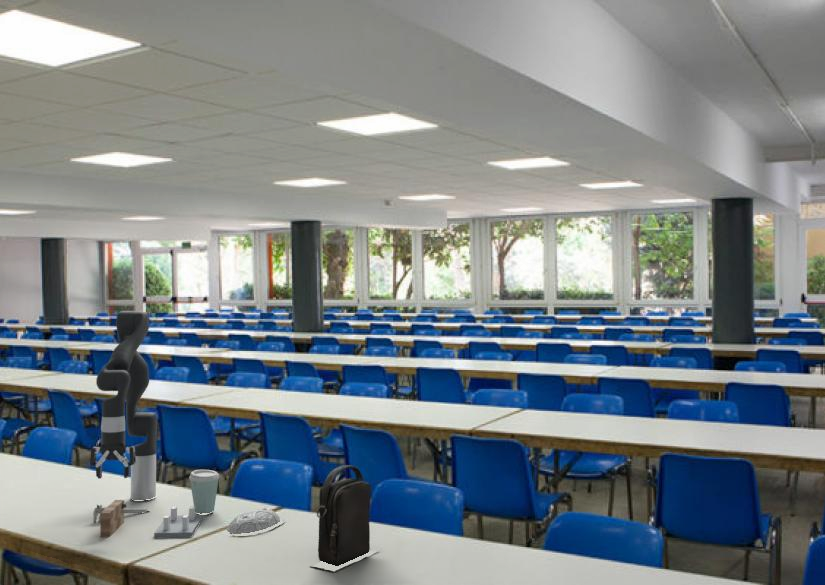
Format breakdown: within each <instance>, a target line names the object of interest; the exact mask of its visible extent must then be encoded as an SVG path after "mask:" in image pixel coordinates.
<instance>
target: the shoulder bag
mask: <svg viewBox="0 0 825 585" xmlns="http://www.w3.org/2000/svg"><path fill="white" fill-rule="evenodd" d="M346 469H350V470H352V471H353V473H354V474H355V478H350V477H349V478H346V479H342V480H338V481H335V482H333V481H334V480H335V478H336V477H337V475H339V473H340V472H342V471H343V470H346ZM322 485H323V486H321V487H320V489H319V494H318V496H319V498H318V500H319V504H318V506H319V508H318V509H317V511H316V517H317V518H318V545H317V546H318V547H317V556H318V560H319V562H320V561H323V562H326V563H328V564H332V565H335V566H339V565H341V564H344V563H346V562H348V561H350V560H353V559H355V558H357V557H359V556H362V555H364V554H366V553H368V552H369V550H371V546H370V544H371V543H370V542H371V541H370V540H371V539H370V537H371V536H370V533H371V531H370V511H371V508H370V507H371V490H372V486H371V484H370V483H369V482H366V481H364V479H363V474H362V473H361V470H360V469H359V468H358V467H357V466H353V465H351V464H349V465H348V464H342V465H340V466H337V467H336V468H334V469H332V470H331V471H330V472H329V473H328V475H327V476H326V477H325V480H324V483H323V484H322Z"/></svg>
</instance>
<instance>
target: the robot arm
mask: <svg viewBox="0 0 825 585" xmlns="http://www.w3.org/2000/svg"><path fill="white" fill-rule="evenodd" d="M115 322H116V323H115V325H116V331H117V338H118V345H117V346H115V348H114V349H113V351H112V354H111V356H110V358H109V361H107V363H106V364H105V365H104V366H103V367H102V368H101V370H100V371H99V372H98V374H97V376H96V381H95V383H96V387H97V388H98V390H100V391H102V392H117V393H116V395H115V396H113V397H108V398H105V399H104V400H102V402H101V403H102V405H101V406H102V407H101V408H102V409H101V410H102V412H101V413H102V414H101V415H102V416H101V424H100V431H101V432H100V439H101V440H100V441H101V442H100V445H101V446H100V447H98V446H93V447H91V449H90V459H89V464H90V466H92V467H95V476H96V478H97V479H98V480H99V479H102V478H103V463H104V462H105V461H106V460H107V461H112V460H113V461H118V460H119V462H120V463H122V464H123V466H124V468H123V478H124V479H127V478H128V477H129V476H130V500H131V499H133V500H146V499H151V498H153V497H155V496H156V497H157V436H158V416H157V413H155V412H151V411H149V412H148V411H147V412H146V411H145V412H138V411H137V408H138V407H137V405H138V403H139V402H140V400H141V398H142V396H143V395H144V393H145V391H146V390H147V388H148V386H149V384H150V375H149V374H150V373H149V365H148V363H147V362H146V360H145V359H144V357H143V356H142V355H141V354H140V353H139V352H138V348H140V346H141V344H142V342H143V341H144V339H145V338H146V335H147V334H148V331H149V329H150V316H149V314H148V312H147V311H143V310H121V311H119V312H118V313H117V315H116V318H115ZM125 407H126V408H125ZM125 410H126V412H125ZM125 415H126V418H125ZM126 431H127V434H128V435H129V436H130V437H137V438H138V437H139V438H140V437H142V438H144V437H146V438H145V441H143V442H141V443H138V444H136V445H131V446H126ZM99 452H100V454H101V455H102V456H101V457H100V458H99V460H98V461H97V455H98V454H99ZM126 452H127V454H129V459H128V457H127V456H126V455H125V453H126Z"/></svg>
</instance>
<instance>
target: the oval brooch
mask: <svg viewBox="0 0 825 585" xmlns="http://www.w3.org/2000/svg"><path fill="white" fill-rule="evenodd" d="M280 518H281V517H280V516H279V515H278V514H277V512H276V511H274V510H270V509H267V508H266V507H262V508H255V509H252V510H250V511H247V512H244V513H242V514H238V515H237V516H236V517H235V518H234V519H233V520H232V521H230V523H229V525H228V526H227V527H228V528H227V527H226V528H227V531H228V532H230V533H231V534H232V533H233V534H241V533H250V532H255V531H259V530H263V529H266V528H268V527H271V526H273V525H275V524H277V523H278V522H280ZM229 526H230V527H229Z"/></svg>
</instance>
